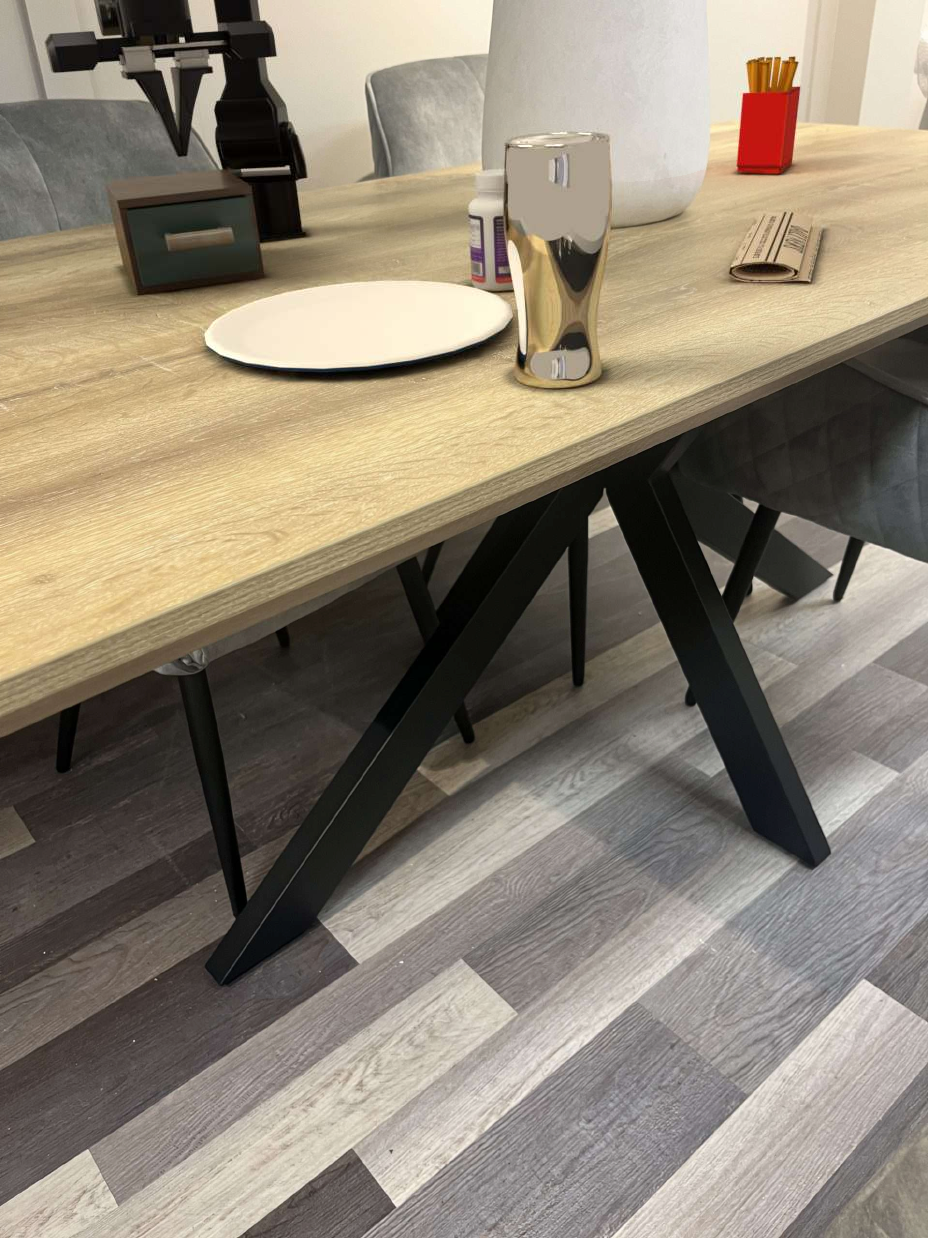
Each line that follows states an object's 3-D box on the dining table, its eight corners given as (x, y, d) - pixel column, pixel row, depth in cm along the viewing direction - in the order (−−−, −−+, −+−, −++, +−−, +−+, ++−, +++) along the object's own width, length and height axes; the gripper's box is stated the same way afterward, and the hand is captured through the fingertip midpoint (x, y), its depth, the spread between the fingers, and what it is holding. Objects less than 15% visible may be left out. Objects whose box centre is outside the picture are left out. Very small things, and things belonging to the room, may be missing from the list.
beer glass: (502, 363, 72) (494, 135, 64) (597, 355, 72) (601, 128, 65) (514, 394, 66) (508, 148, 58) (617, 386, 66) (624, 140, 59)
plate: (181, 320, 87) (178, 306, 86) (444, 279, 95) (443, 266, 94) (243, 405, 67) (240, 387, 67) (568, 344, 75) (568, 328, 74)
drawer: (269, 279, 95) (257, 203, 92) (148, 296, 92) (131, 218, 88) (235, 247, 109) (224, 180, 106) (129, 260, 106) (114, 192, 102)
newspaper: (754, 228, 108) (755, 210, 107) (822, 229, 105) (825, 211, 104) (727, 281, 89) (729, 260, 88) (810, 283, 87) (812, 262, 86)
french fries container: (731, 174, 140) (741, 60, 132) (745, 164, 147) (754, 56, 139) (782, 174, 137) (795, 58, 130) (794, 164, 144) (806, 54, 137)
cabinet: (265, 276, 100) (251, 185, 96) (137, 294, 96) (116, 200, 92) (238, 251, 112) (224, 168, 107) (123, 266, 108) (104, 181, 104)
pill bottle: (536, 278, 93) (535, 166, 88) (520, 293, 89) (518, 175, 84) (482, 277, 95) (477, 166, 90) (463, 291, 91) (458, 176, 86)
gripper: (237, -50, 91) (264, 138, 99) (22, -41, 85) (70, 157, 94) (263, -59, 82) (290, 149, 90) (24, -50, 76) (77, 170, 85)
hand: (182, 155), depth 90 cm, fingers closed
